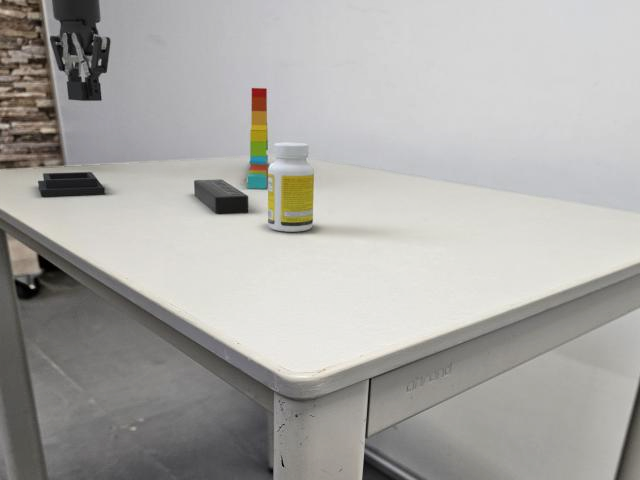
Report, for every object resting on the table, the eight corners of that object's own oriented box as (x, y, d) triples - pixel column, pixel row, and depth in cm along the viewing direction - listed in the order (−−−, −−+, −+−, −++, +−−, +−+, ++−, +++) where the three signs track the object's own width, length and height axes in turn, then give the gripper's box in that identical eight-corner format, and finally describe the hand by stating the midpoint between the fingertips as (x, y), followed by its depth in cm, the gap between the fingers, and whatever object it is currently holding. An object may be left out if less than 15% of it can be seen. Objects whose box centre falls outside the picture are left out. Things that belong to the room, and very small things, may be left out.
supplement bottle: (321, 227, 77) (323, 144, 74) (294, 235, 73) (296, 147, 69) (286, 220, 80) (286, 140, 76) (258, 228, 76) (257, 143, 72)
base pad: (41, 197, 90) (39, 181, 89) (38, 187, 97) (36, 172, 96) (105, 194, 93) (103, 179, 92) (97, 185, 100) (96, 171, 99)
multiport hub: (216, 214, 83) (216, 197, 82) (194, 195, 95) (193, 179, 94) (249, 213, 84) (249, 195, 83) (222, 194, 97) (222, 179, 96)
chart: (252, 164, 130) (251, 86, 124) (267, 164, 130) (267, 86, 125) (246, 188, 102) (245, 89, 96) (266, 189, 102) (266, 90, 97)
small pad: (68, 99, 112) (66, 81, 111) (87, 99, 115) (86, 81, 114) (82, 100, 110) (80, 82, 109) (101, 100, 113) (100, 82, 112)
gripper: (29, -11, 107) (42, 97, 113) (82, -15, 99) (92, 101, 106) (68, -6, 112) (78, 96, 119) (120, -9, 105) (128, 101, 111)
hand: (85, 98), depth 112 cm, fingers closed on small pad, 4 cm apart
